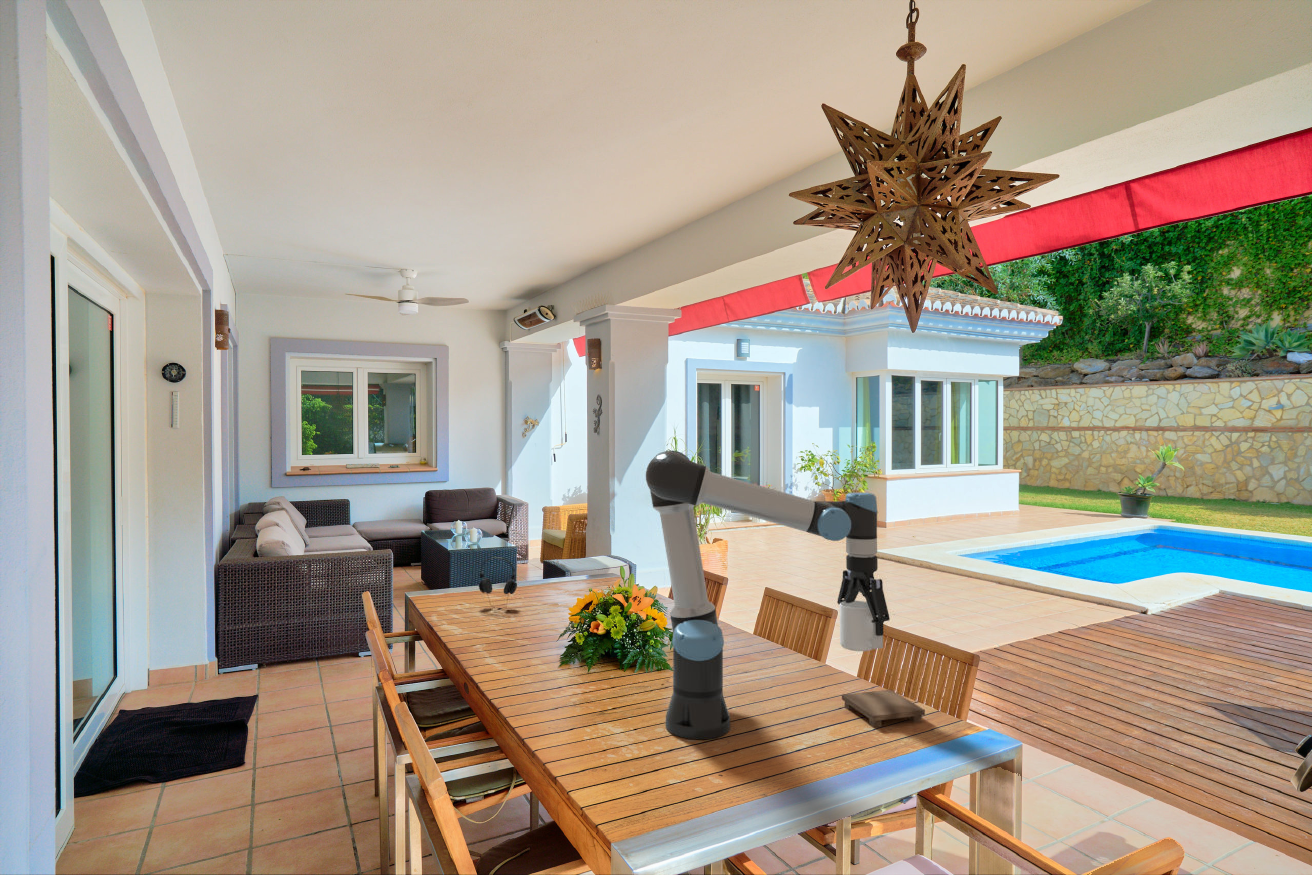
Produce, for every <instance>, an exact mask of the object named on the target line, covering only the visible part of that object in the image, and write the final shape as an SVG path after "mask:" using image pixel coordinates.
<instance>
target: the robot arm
mask: <svg viewBox="0 0 1312 875" xmlns="http://www.w3.org/2000/svg"><path fill="white" fill-rule="evenodd" d="M645 481H646V485H647V487H648V489H649V491H650V497H651V503H652V508H653V509H654V510H656V511H657V513H659V515H660V522H661V523H660V524H661V529H662V534H663V535H662V536H663V541H664V542H663V543H664V547H665V553H666V559H667V566H668V567H667V568H668V572H669V579H670V583H671V584H670V585H671V590H672V596H673V597H672V598H673V604H674V606H673V608H672V609H671V611H670V612H669V614H670V615H669V616H670V621H671V622H670V624H671V629H672V634H673V635H672V639H671V640H672V646H673V647H672V649H673V650H672V654H673V656H672V658H673V659H672V660H673V661H672V665H673V666H672V671H673V673H672V684H673V685H672V686H673V687H672V695H671V699H670V701H669V705H668V708H667V711H666V714H665V728H666V730H667V731H668V732H669V733H671V734H673V735H675V736H677V737H679V738H680V737H681V738H684V739H689V740H690V739H691V740H709V739H710V740H711V739H716V738H719V737H722V736H724V735H725V734H727V733H728V732H729V731H730V729H731V717H730V714H729V709H728V706H727V703H726V700H725V697H724V691H723V690H724V689H723V685H724V683H723V682H724V679H723V678H724V676H723V675H724V674H723V673H724V666H723V665H724V645H725V642H724V641H725V640H724V636H723V630H722V629H721V626H719V623H718V618H717V611H716V606H715V604H714V603H712V602H711V601H709V598H708V591H707V586H706V585H707V584H706V580H705V579H706V578H705V572H704V565H703V561H702V553H701V548H700V542H699V535H698V530H697V524H696V517H695V510H694V508H695V507H696V506H699V505H701V504H703V505H704V504H705V505H708V506H711V507H712V506H713V507H715V508H719V509H723V510H726V511H730V512H733V513H738V514H742V515H745V516H748V517H752V518H756V519H759V520H762V521H765V522H769V523H773V524H777V525H780V526H784V527H788V528H791V529H795V530H799V531H800V532H805V533H808V534H811V535H815V536H819V537H822V538H823V539H825V540H827V541H830V542H831V541H833V542H839V541H841V540H844V539H845V552H846V554H847V555H846V557H845V558H846V561H845V562H846V565H845V566H846V569H847V570H843V571H842V581H841V585H840V587H839V588H840V589H839V593H838V596H837V601H836V602H837V605H840V603H841V602H844V601H846V603H852V602H854V601H856V599H857V596H858V595H859V593H861V595H862V596H863V597H864V598H865V600H866V601H865V602H867V604H868V607H869V609H870V612H871V615H872V617H873V620H872V621H871V646H872V650H877V649H884V623H885V622H889V621H890V614H889V610H888V609H889V608H888V606H887V602H886V598H885V597H886V596H885V593H884V589H883V579H881V578H879V579H877V578H875V574H874V573H875V572H877V571H878V568H879V567H878V566H879V565H878V556H877V554H878V513H879V512H878V502H877V496H876V495H875V494H874V493H871V492H848V493H846V495H845V499H844V500H838V501H837V500H836V501H835V500H833V501H831V500H830V501H829V500H828V501H827V500H823V501H822V500H819V501H818V500H811V499H808V498H806V497H805V498H804V497H801V496H798V495H794V494H791V493H787V492H783V491H780V490H777V489H772V488H769V487H765V486H762V485H759V484H755V483H752V482H747V481H745V480H740V479H738V478H737V479H736V478H733V477H729V476H727V475H722V474H719V473H716V472H712V471H711V470H710V469H709V467H708V466H707V465H703V464H699V463H698V462H697V463H696V462H694V461H693V460H690V458H689V457H688V456H687V455H686V454H685V453H683V452H681V451H677V450H666V451H662V452H659V453H658V454H656V455H655V456H654V457H653V458H652V459H651V460H650V461H649V463H648V465H647V468H646V471H645Z"/></svg>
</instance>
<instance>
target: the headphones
mask: <svg viewBox="0 0 1312 875" xmlns="http://www.w3.org/2000/svg"><path fill="white" fill-rule="evenodd" d="M493 559H499V560H503V561H505V562H506V563H508V564H509V566H510V567H511V570H512V573H513V574H511V576H510V577H511V578H508V580H507V582H506V583H505V585H504V588H503V594H504V595H509V594H510V595H513V594H514V593H515V592H516V591H517V587H518V583H517V582H516V581H515V580H516V574H515V572H516V569H515V568H514V567H513V565H512V563H511V562H510V560H509V559H507V558H504V557H501V556H493V557H490V558H487V559H486V560H484V561H483V563H482V565H481V566H480V573H479V579H482V580H480V581H479V583H478V589H479V591H480V592H481V593H482V594H485V593H486V595H487V597H488V598H487V599H490V597H489V595H488V594H492V592H493V584H492V581H491V580H490V579H489V578H488V577H485V575H484V573H483V567H484V565H485V563H487V562H488V561H489V560H493ZM508 599H509V597H507V600H506V601H508ZM488 602H489V603H491V602H490V600H488ZM490 605H491V606H492V608H494V611H493V612H496V613H498V614H499V613H500V614H504V613H507V612H508V613H510V612H511V610H507V609H506V608H507V606H508V604H506V607H503V610H502V607H497V610H496V607H495V606H493V605H492V604H490ZM504 608H505V609H506V610H505V609H504ZM500 610H501V611H500ZM503 611H505V612H503ZM488 613H489V614H490V612H488Z"/></svg>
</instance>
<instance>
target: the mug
mask: <svg viewBox="0 0 1312 875" xmlns="http://www.w3.org/2000/svg"><path fill="white" fill-rule="evenodd" d="M872 620H873V617H872V615H871V612H870V609H869V607H868V604H867V601H864V600H855V601H854V602H852V603H846V601H844V602H841V603H840V604H839V643H840V645H841V647H842V648H844V649H846V650H849V651H853V652H869V651H872V650H873V649H872V646H871V621H872Z"/></svg>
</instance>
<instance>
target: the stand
mask: <svg viewBox="0 0 1312 875" xmlns="http://www.w3.org/2000/svg"><path fill="white" fill-rule="evenodd" d="M841 700H842V701H843V702H844V708H846V710H848V711H853V710H856V711H858V712H859V713H861V714H862V715H864V716H865V717H867V719H868V725H869V726H870V727H872V728H874V729H876V728H882V721H887V720H894V719H903V718H909V721H911V722H913V723H915V724H916V723H922V722H923V721H922V719H923V716H925V715H926V709H924V708H923V707H921V706H920V705H917V704H916V703H914V702H912V701H910V700H909V699H907V698H906V697H904V696H903V695H900V694H899V693H897V692H896V691H894V690H892V689H885V690H882V689H881V690H874V691H873V690H872V691H864V692H855V693H853V692H852V693H846V694H841Z"/></svg>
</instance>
